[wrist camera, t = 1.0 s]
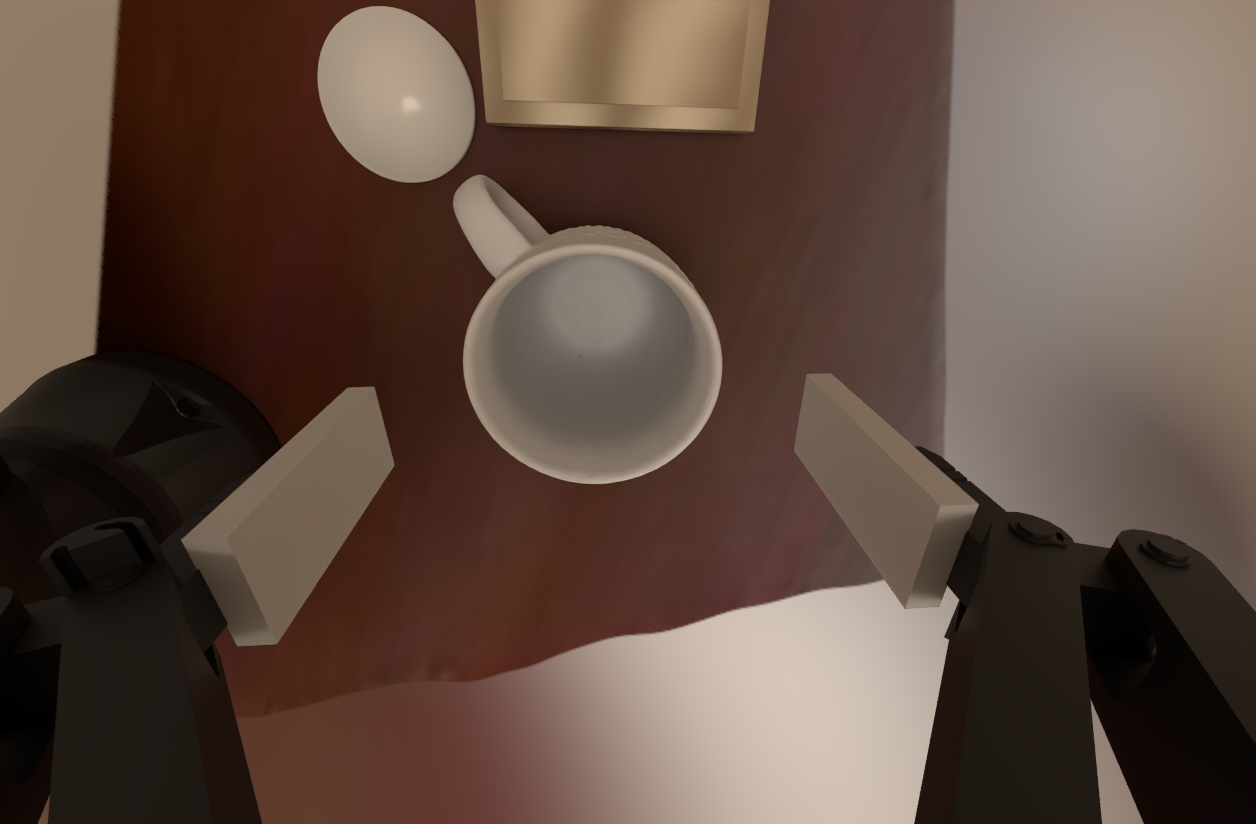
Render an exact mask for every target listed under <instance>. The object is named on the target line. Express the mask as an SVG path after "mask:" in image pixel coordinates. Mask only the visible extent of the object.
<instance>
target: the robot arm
mask: <svg viewBox="0 0 1256 824" xmlns="http://www.w3.org/2000/svg"><path fill="white" fill-rule="evenodd" d="M794 451H795V453H796V454H797V455H798V457H799V458H800V460H801V461H802V463H803V464H804V465H805V467H806V468H807V470H808V471H809V473H810V474H811V475H812V477H813V478H814V480H815V481H816V483H817V484H818V485H819V487H820V488H821V490H822V491H823V493H824V494H825V495H826V497H827V498H828V500H829V501H830V502H831V504H832V505H833V507H834V508H835V510H836V511H837V512H838V514H839V515H840V517H841V518H842V520H843V521H844V522H845V524H846V525H847V527H848V528H849V530H850V531H851V532H852V534H853V535H854V537H855V538H856V540H857V541H858V542H859V544H860V545H861V547H862V548H863V550H864V551H865V552H866V554H867V555H868V557H869V558H870V560H871V561H872V562H873V564H874V565H875V567H876V568H877V570H878V571H879V572H880V574H881V575H882V577H883V578H884V580H885V581H886V582H887V584H888V585H889V587H890V588H891V590H892V591H893V592H894V594H895V595H896V597H897V598H898V600H899V601H900V602H901V604H902V605H903V607H904V608H905V609H909V608H927V607H939V606H940V603H941V600H942V598H943V595H944V593H945V590H946V588H947V586H948V587H949V588H950V589H951V590H952V591H953V593H954V594H955V595H956V596H957V597H958V599H959V602H958V605H957V607H956V610H955V612H954V615H953V617H952V619H951V622H950V624H949V627H948V629H947V632H946V634H945V636H944V637H945V638H947V639H949V643H948V649H947V654H946V659H945V665H944V670H943V675H942V680H941V686H940V691H939V696H938V701H937V707H936V712H935V717H934V723H933V728H932V733H931V738H930V744H929V749H928V754H927V760H926V765H925V770H924V775H923V780H922V786H921V791H920V796H919V801H918V807H917V812H916V817H915V823H914V824H1102V819H1101V810H1100V809H1101V808H1100V797H1099V787H1098V776H1097V766H1096V755H1095V744H1094V733H1093V722H1092V712H1091V702H1090V698H1091V701H1092V703H1093V705H1094V708H1095V710H1096V712H1097V715H1098V717H1099V719H1100V722H1101V724H1102V726H1103V729H1104V731H1105V734H1106V736H1107V738H1108V741H1109V743H1110V745H1111V748H1112V750H1113V752H1114V755H1115V757H1116V759H1117V762H1118V764H1119V766H1120V769H1121V771H1122V773H1123V776H1124V778H1125V780H1126V783H1127V785H1128V787H1129V789H1130V792H1131V794H1132V797H1133V799H1134V801H1135V804H1136V806H1137V809H1138V811H1139V813H1140V815H1141V818H1142V820H1143V823H1144V824H1256V612H1255V610H1254V609H1253V608H1252V607H1251V606H1250V605H1249V604H1248V602H1246V600H1245V599H1244V598H1243V597H1242V596H1241V595H1240V593H1239V592H1238V591H1237V590H1236V589H1235V588H1234V587H1233V586H1232V584H1231V583H1230V582H1229V581H1228V580H1227V579H1226V577H1225V576H1224V575H1223V574H1222V573H1221V572H1220V571H1219V569H1218V568H1217V567H1216V566H1215V565H1214V564H1213V563H1212V562H1211V561H1210V560H1209V559H1208V558H1206V557H1205V556H1204V555H1203V554H1202V553H1200V552H1199V551H1196V550H1195V549H1193V548H1192V547H1190V546H1188V545H1187V544H1186V543H1184V542H1182V541H1180V540H1177V539H1173V538H1172V537H1170V536H1166V535H1163V534H1157V533H1153V532H1149V531H1143V530H1134V529H1133V530H1126V531H1122V532H1121V533H1120V534H1119V535H1118V536H1117V538H1116V540H1115V542H1114V544H1113V545H1112V547H1111V548H1104V547H1098V546H1092V545H1086V544H1079V543H1074V541H1073V539H1072V538H1071V537H1070V536H1069V535H1068V534H1067V533H1066V532H1065V531H1063V530H1062V529H1061V528H1059V527H1057V526H1055V525H1054V524H1052V523H1050V522H1048V521H1046V520H1043V519H1041V518H1038V517H1035V516H1033V515H1028V514H1024V513H1019V512H1006V511H1005V510H1004V509H1002V508H1001V507H1000V506H999V505H998V504H997V503H995V502H994V501H993V500H992V499H991V498H990V497H988V496H987V495H986V494H985V493H984V492H982V491H981V490H980V489H979V488H978V487H976V486H975V485H974V484H973V483H971V481H967V478H966V477H965V476H963V475H962V474H961V473H960V472H959V471H956V470H955V468H954V467H953V466H952V465H950V464H949V463H948V462H947V461H946V460H944V459H943V458H942V457H941V456H939V455H937V454H935V453H933V452H931V451H929V450H927V449H925V448H923V447H921V446H920V447H914V446H912V445H911V444H910V443H909V442H908V441H907V440H906V439H904V438H903V437H902V436H901V435H900V434H899V433H898V432H897V431H895V430H894V429H893V428H892V427H891V426H890V425H889V424H887V423H886V422H885V421H884V420H883V419H882V418H881V417H880V416H878V415H877V414H876V413H875V412H874V411H873V410H872V409H870V408H869V407H868V406H867V405H866V404H865V403H864V402H863V401H861V400H860V399H859V398H858V397H857V396H856V395H855V394H853V393H852V392H851V391H850V390H849V389H848V388H847V387H846V386H844V385H843V384H842V383H841V382H840V381H839V380H838V379H837V378H835V377H834V376H833V375H832V374H831V373H830V374H807V376H806V382H805V388H804V394H803V399H802V405H801V411H800V417H799V423H798V429H797V435H796V440H795V446H794ZM393 467H394V461H393V457H392V454H391V450H390V446H389V442H388V438H387V434H386V430H385V426H384V422H383V419H382V415H381V411H380V407H379V403H378V399H377V395H376V391H375V387H351V388H347V389H346V390H345V391H344V392H342V393H341V394H340V395H339V396H338V397H337V398H336V399H335V400H334V401H333V402H331V403H330V404H329V405H328V406H327V407H326V408H325V409H324V410H323V411H322V412H321V413H319V414H318V415H317V416H316V417H315V418H314V419H313V420H312V421H311V422H310V423H309V424H307V425H306V426H305V427H304V428H303V429H302V430H301V431H300V432H299V433H298V434H296V435H295V436H294V437H293V438H292V439H291V440H290V441H289V442H288V443H287V444H286V445H284V446H283V447H282V448H281V449H280V450H279V447H278V444H277V442H276V440H275V438H274V436H273V434H272V432H271V431H270V429H269V427H268V426H267V424H266V423H265V421H264V420H263V419H262V418H261V416H260V415H259V414H258V413H257V411H256V410H255V409H254V408H253V407H252V406H251V405H250V404H249V403H248V402H247V401H246V400H245V399H244V398H243V397H241V396H240V395H239V394H238V393H237V392H236V391H234V390H233V389H232V388H230V387H229V386H228V385H226V384H225V383H223V382H222V381H220V380H219V379H217V378H215V377H214V376H212V375H210V374H208V373H207V372H205V371H203V370H201V369H199V368H197V367H194V366H192V365H190V364H187V363H185V362H182V361H179V360H176V359H173V358H170V357H166V356H163V355H158V354H154V353H148V352H140V351H111V352H104V353H99V354H95V355H92V356H89V357H86V358H84V359H81V360H78V361H76V362H73V363H70V364H68V365H65V366H63V367H60V368H58V369H55V370H53V371H51V372H50V373H48V374H46V375H44V376H43V377H41V378H39V379H38V380H37V381H36V382H34V383H33V384H32V385H31V386H30V387H29V388H28V389H27V390H26V391H25V392H24V393H23V394H22V395H20V396H19V397H18V398H17V399H16V400H15V401H13V402H12V403H11V404H10V405H9V406H8V407H7V408H6V409H4V410H3V411H2V412H1V413H0V824H38V822H39V819H40V817H41V814H42V812H43V810H44V807H45V805H46V802H47V800H48V797H49V795H50V803H49V817H48V824H262V821H261V817H260V813H259V809H258V805H257V801H256V797H255V793H254V789H253V785H252V781H251V777H250V773H249V769H248V765H247V761H246V757H245V753H244V749H243V745H242V741H241V737H240V733H239V729H238V725H237V722H236V717H235V713H234V709H233V705H232V701H231V697H230V693H229V689H228V685H227V681H226V677H225V673H224V669H223V665H222V662H221V658H220V654H219V652H218V651H217V649H216V647H215V645H214V643H213V642H214V641H215V640H216V638H217V637H218V636H219V635H220V633H221V632H222V631H223V629H224V628H225V627H226V626H227V627H228V629H229V631H230V633H231V635H232V637H233V639H234V641H235V642H236V644H237V646H252V645H269V644H277V643H278V642H279V640H280V639H281V637H282V636H283V634H284V633H285V631H286V630H287V628H288V627H289V625H290V623H291V622H292V620H293V619H294V617H295V616H296V614H297V613H298V611H299V610H300V608H301V607H302V605H303V604H304V602H305V601H306V599H307V598H308V596H309V595H310V593H311V592H312V590H313V588H314V587H315V585H316V584H317V582H318V581H319V579H320V578H321V576H322V575H323V573H324V572H325V570H326V569H327V567H328V566H329V564H330V563H331V561H332V560H333V558H334V557H335V555H336V554H337V552H338V550H339V549H340V547H341V546H342V544H343V543H344V541H345V540H346V538H347V537H348V535H349V534H350V532H351V531H352V529H353V528H354V526H355V525H356V523H357V522H358V520H359V519H360V517H361V515H362V514H363V512H364V511H365V509H366V508H367V506H368V505H369V503H370V502H371V500H372V499H373V497H374V496H375V494H376V493H377V491H378V490H379V488H380V487H381V485H382V484H383V482H384V480H385V479H386V477H387V476H388V474H389V473H390V471H391V470H392V468H393Z"/></svg>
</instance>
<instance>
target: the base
mask: <svg viewBox="0 0 1256 824" xmlns="http://www.w3.org/2000/svg"><path fill="white" fill-rule="evenodd" d="M475 2H476V13H477V25H478V36H479V47H480V58H481V70H482V81H483V92H484V104H485V115H486V123H489V124H492V125H494V126H514V127H545V128H575V129H605V130H636V131H666V132H697V133H727V134H744V133H749V132H753V131H754V126H755V118H756V109H757V101H758V93H759V85H760V77H761V68H762V60H763V52H764V44H765V36H766V27H767V19H768V11H769V3H770V0H475Z"/></svg>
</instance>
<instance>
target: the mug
mask: <svg viewBox="0 0 1256 824" xmlns="http://www.w3.org/2000/svg"><path fill="white" fill-rule="evenodd" d="M453 207H454V211H455V215H456V217H457V219H458V222H459V224H460V226H461V228H462V230H463V232H464V234H465V236H466V237H467V239H468V241H469V243H470V244H471V246H472V248H473V250H474V251H475V253H476V254H477V256H478V257H479V259H480V260H481V261H482V263H483V264H484V266H485V267H486V268H487V270H488V271H489V272H490V273H491V274H492V275H493V276H494V277H495V282H494V283H493V284H492V285H491V286H490V288H489V289H488V290H487V292H486V293H485V295H484V296H483V298H482V299H481V301H480V302H479V304H478V306H477V308H476V310H475V311H474V313H473V316H472V318H471V320H470V323H469V326H468V329H467V333H466V337H465V343H464V350H463V371H464V379H465V384H466V389H467V392H468V395H469V398H470V401H471V404H472V406H473V408H474V410H475V412H476V414H477V416H478V418H479V420H480V421H481V423H482V424H483V426H484V427H485V429H486V430H487V431H488V432H489V434H490V435H491V436H492V438H493V439H494V440H495V441H496V442H497V443H498V444H499V445H500V446H501V447H502V448H503V449H504V450H506V451H507V452H508V453H509V454H511V455H512V456H514V457H515V458H516V459H517V460H519V461H520V462H522V463H524V464H526V465H527V466H529V467H531V468H533V469H535V470H537V471H539V472H541V473H544V474H546V475H549V476H551V477H555V478H558V479H562V480H565V481H570V482H577V483H586V484H605V483H614V482H619V481H624V480H628V479H632V478H635V477H639V476H642V475H644V474H646V473H649V472H651V471H653V470H655V469H657V468H659V467H661V466H662V465H664V464H666V463H667V462H669V461H670V460H672V459H673V458H674V457H676V456H677V455H678V454H680V453H681V452H682V451H683V450H684V449H685V448H686V447H687V446H688V445H689V444H690V443H691V442H692V441H693V440H694V439H695V438H696V436H697V435H698V434H699V432H700V431H701V430H702V428H703V427H704V425H705V423H706V422H707V420H708V419H709V417H710V415H711V413H712V410H713V408H714V406H715V403H716V400H717V397H718V393H719V389H720V384H721V377H722V353H721V345H720V341H719V337H718V333H717V329H716V326H715V324H714V321H713V319H712V316H711V314H710V312H709V310H708V308H707V307H706V305H705V303H704V302H703V300H702V299H701V297H700V296H699V294H698V293H697V291H696V290H695V288H694V285H693V284H692V283H691V282H690V281H689V280H688V278H687V276H685V274H684V273H683V272H682V271H681V270H680V268H679V267H678V265H676V264H675V263H674V262H673V261H672V260H671V259H670V257H669V256H667V255H666V254H665V253H664V252H662V251H661V250H660V249H659V248H657V247H656V246H655V245H653V244H651V243H650V242H649V241H647V240H644V239H643V238H642V237H639V236H638V235H634V234H633V233H632V232H630V231H623V230H622V229H619V228H611V227H608V226H607V227H604V226H601V225H598V226H589V225H587V226H584V227H583V226H579V227H577V228H568V229H566V230H562V231H558V232H556V233H555V234H551V235H549V234H548V233H547V232H546V231H545V230H544V229H543V228H542V226H541V225H540V224H539V223H538V222H537V221H536V220H535V219H534V218H533V217H532V216H531V215H530V214H529V213H528V212H527V211H526V210H525V209H524V208H523V207H522V206H521V205H520V204H519V203H518V202H517V201H516V200H515V199H514V198H512V197H511V196H510V195H509V194H508V193H507V192H506V191H505V190H504V189H503V188H502V187H500V186H499V185H498V184H497V183H496V182H494V181H493V180H491V179H490V178H488V177H487V176H484V175H476V176H473V177H471V178H470V179H468V180H467V181H465V182H464V183H463V184H462V185H461V186H460V187H459V188H458V190H457V191H456V193H455V195H454V199H453Z"/></svg>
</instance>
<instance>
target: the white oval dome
mask: <svg viewBox="0 0 1256 824" xmlns="http://www.w3.org/2000/svg"><path fill="white" fill-rule="evenodd" d="M318 89H319V95H320V100H321V104H322V107H323V110H324V113H325V116H326V118H327V121H328V123H329V125H330V127H331V129H332V130H333V132H334V134H335V135H336V137H337V138H338V140H339V141H340V143H341V144H342V145H343V146H344V148H345V149H346V150H347V151H348V152H349V153H350V154H351V155H352V156H353V157H354V158H355V159H356V160H357V161H358V162H360V163H361V164H362V165H363V166H365V167H366V168H368V169H369V170H371V171H372V172H374V173H376V174H378V175H380V176H382V177H385V178H388V179H391V180H395V181H399V182H407V183H415V182H425V181H430V180H434V179H437V178H439V177H441V176H443V175H445V174H447V173H448V172H450V171H451V170H452V169H453V168H455V167H456V166H457V165H458V163H459V162H460V161H461V160H462V159H463V157H464V156H465V154H466V152H467V150H468V148H469V146H470V144H471V141H472V138H473V135H474V130H475V124H476V103H475V97H474V91H473V88H472V84H471V81H470V78H469V75H468V73H467V70H466V68H465V66H464V64H463V62H462V60H461V59H460V57H459V56H458V54H457V53H456V51H455V50H454V48H453V47H452V46H451V45H450V43H449V42H448V41H447V40H446V39H445V38H444V37H443V36H442V35H441V34H440V33H439V32H438V31H437V30H435V29H434V28H433V27H432V26H430V25H429V24H428V23H426V22H425V21H424V20H422V19H420V18H419V17H417V16H415V15H413V14H411V13H409V12H406V11H404V10H400V9H397V8H393V7H385V6H374V7H367V8H363V9H360V10H357V11H355V12H352V13H351V14H349V15H347V16H346V17H344V18H343V19H342V20H341V21H340V22H338V23H337V24H336V25H335V27H334V28H333V29H332V31H331V32H330V33H329V35H328V37H327V39H326V40H325V42H324V45H323V48H322V51H321V54H320V59H319V64H318Z"/></svg>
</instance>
